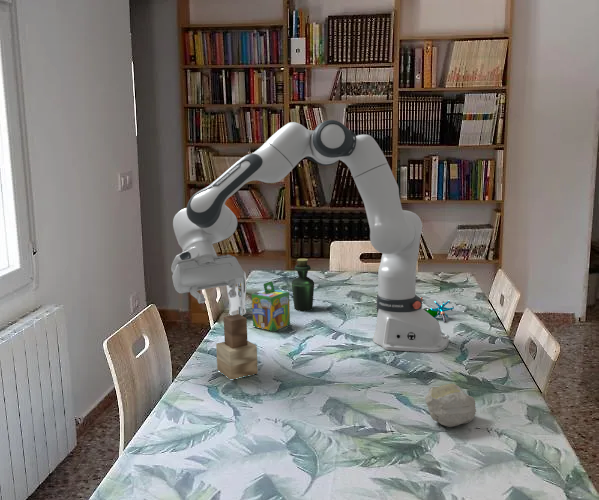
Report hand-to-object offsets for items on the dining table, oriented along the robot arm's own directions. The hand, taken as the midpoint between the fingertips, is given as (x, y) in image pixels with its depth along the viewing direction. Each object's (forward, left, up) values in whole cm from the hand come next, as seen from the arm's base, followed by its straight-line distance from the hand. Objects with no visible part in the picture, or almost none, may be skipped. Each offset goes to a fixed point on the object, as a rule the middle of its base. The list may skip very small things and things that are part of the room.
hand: (218, 299), depth 183 cm
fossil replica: (-66, +13, -19) cm, 70 cm away
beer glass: (+19, -44, -19) cm, 51 cm away
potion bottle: (0, -58, -19) cm, 61 cm away
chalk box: (+2, -36, -19) cm, 40 cm away
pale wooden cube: (-7, +4, -19) cm, 21 cm away
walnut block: (-7, +4, -11) cm, 14 cm away
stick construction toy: (-47, -61, -19) cm, 79 cm away
